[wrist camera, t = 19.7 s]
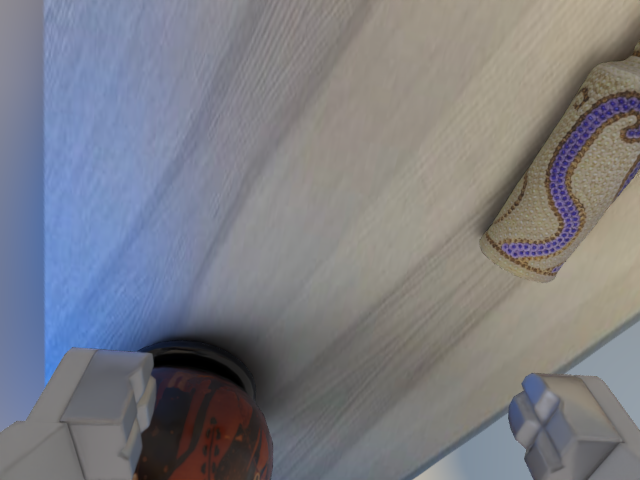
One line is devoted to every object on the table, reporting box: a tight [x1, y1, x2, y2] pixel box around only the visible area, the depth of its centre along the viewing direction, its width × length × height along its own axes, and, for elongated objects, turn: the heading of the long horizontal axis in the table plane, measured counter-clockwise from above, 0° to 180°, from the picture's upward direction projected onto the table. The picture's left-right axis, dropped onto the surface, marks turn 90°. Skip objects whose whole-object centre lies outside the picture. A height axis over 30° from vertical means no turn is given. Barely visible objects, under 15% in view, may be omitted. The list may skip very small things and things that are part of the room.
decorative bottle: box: [479, 41, 640, 283], centre depth 34 cm, size 26×8×7 cm, turn 160°
